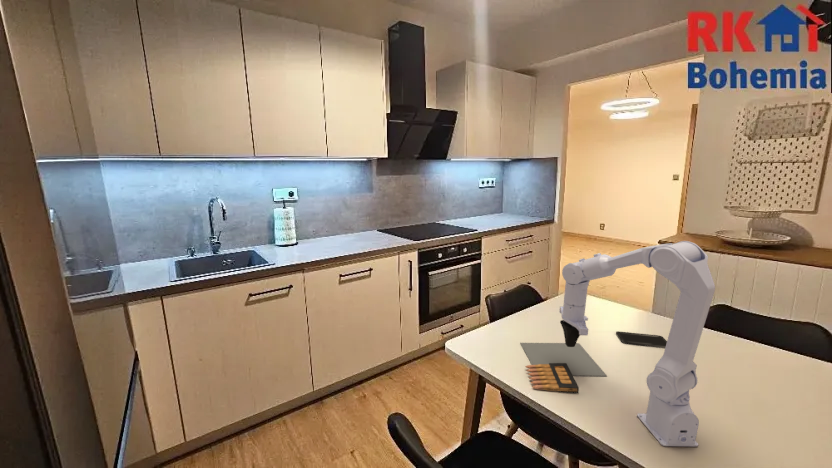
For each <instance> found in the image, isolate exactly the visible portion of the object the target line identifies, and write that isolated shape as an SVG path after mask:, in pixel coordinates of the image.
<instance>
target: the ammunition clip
mask: <svg viewBox="0 0 832 468" xmlns="http://www.w3.org/2000/svg"><path fill="white" fill-rule="evenodd" d="M525 368H527V369H526V372H529V373H527V376H530V377H528V378H529V380H531V382H530V384H532V386H531V388H532V389H535V390H541V391H542V390H543V391H549V392H550V391H551V392H552V391H553V392H558V393H567V394H579V389H580V387H579V385H578V383H577V380H575V376H573V375H572V373H571V371H570V369H569V367H568V365H567V363H549V364H538V365H532V364H527V365H526V366H525Z"/></svg>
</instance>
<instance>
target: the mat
mask: <svg viewBox="0 0 832 468" xmlns="http://www.w3.org/2000/svg"><path fill="white" fill-rule="evenodd" d="M520 345H521V347H522V349H523V352H524V353H525V355H526V357H527V358H528V360H529V363H530V365H538V364H549V363H567V365H568V367H569V369H570V371H571V373H572V375H573V377H608V375H607V374H606V372H604V371H603V369H602V368H601V366H599V364H597V362H596V361H595V360H594V359H593V357H592V356H591V355H590V354H589V353H588V351H587V350H585V349H584V347H583V346H582V345H581V343H579V342H576V344H575V347H567V345H566V343H565V342H520Z"/></svg>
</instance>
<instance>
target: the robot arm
mask: <svg viewBox="0 0 832 468" xmlns="http://www.w3.org/2000/svg"><path fill="white" fill-rule="evenodd" d="M708 261H709V256H708V254H707V253H706V252H705V250H703V249H702V248H701V247H700V246H699V245H698V244H697V243H695V242H692V241H689V240H682V241H678V242H675V243H672V242H669V243H661V244H656V245H649V246H646V247H645V246H644V247H640V248H637V249H635V250H634V249H633V250H632V251H628V252H624V253H621V254H618V255H615V256H611V255H609V254H605V253H604V254H602V253H601V252H598V253H595V254H593V256H592V257H590V258H589V257H588V258H579V260H578V261H577V262H576V261H575V262H572V263H571V262H569V263H567V264H565V265H564V266H563V268H562V271H561V273H562V277H563V278H562V279H563V280H564V281H565V286H564V296H563V306H559V314H560V315H561V320H560V322H559V323H560V325H561V328H562V331H563V336H564V343H566V345H567V347H575V344H576V343H578V342H577V341H578V340H579V338H580V336H588V334H589V327H588V326H587V322H586V321H589V317H587V316H586V315H585V313H586V305H587V297H588V288H589V285H590V281H592V280H593V281H594V280H598V279H604V278H606V277H611V276H613V275H614V274H615V272H616V271H617V270H618V269H623V268H626V267H627V268H628V267H633V266H636V265H641V264H643V265H644V266H645V267H646V268H648V269H649V268H653V269H654V270H655V272H657V273H658V274H659V275H661V276H662V277H664V278H665V279H667V280H668V281H669V282H671V283H672V284H674V285H675V286H676V287H677V289H678V290H679V291H680V293H679V298H678V302H677V305H676V308H675V311H674V314H673V315H674V316H673V319H672V323H671V326H670V330H669V333H668V337H667V339H666V341H667V344H666V347H665V348H664V351H663V355H662V356H661V357H660V359H658V361H657V363H655V366H654V369H653V371H652V372H649V374H648V375H647V377H646V386H647V389H649V396H648V401H647V408H646V413H638V412H637V414H636V415H637V418H638V419H639V420H640V421H641V423H643V425H644V426H645V427H646V428H647V429H648V431H649V432H650V433H651V434H652V435H653V436H654V438H655V439H656V440H657V441H658V442H659V444H660V445H661V446H663V447H698V446H699V443H698V442H697V441H696V440H697V435H698V429H699V425H700V421H699V418H698V416H697V415H696V414H695V413H694V411H693V409H692V407H691V404H690V400H691V399H690V390H693V389H694V388H696V386H697V385H698V383H699V382H698V377H697V373H696V372H697V366H698V365H697V364H696V362H695V361H694V359H695V356H696V352H697V349H698V347H699V343H700V341H701V337H702V333H703V330H704V326H705V324H706V320H707V318H708V314H709V310H710V307H711V305H712V301H713V298H714V295H715V291H716V285H715V282H714V281H715V280H714V278H713V275H712V273H711V270H710V267H709V263H708Z"/></svg>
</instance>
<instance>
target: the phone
mask: <svg viewBox="0 0 832 468" xmlns="http://www.w3.org/2000/svg"><path fill="white" fill-rule="evenodd" d="M615 336H616V337H617V339H618V340H619V342H620V343H621V344H624V345H630V346H637V347H647V348H657V349H658V348H659V349H665V347H666V344H667V339H665V338H664V337H663V336H662V335H656V334H648V333H637V332H636V333H635V332H630V331H629V332H628V331H627V332H626V331H620V330H619V331H615Z"/></svg>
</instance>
